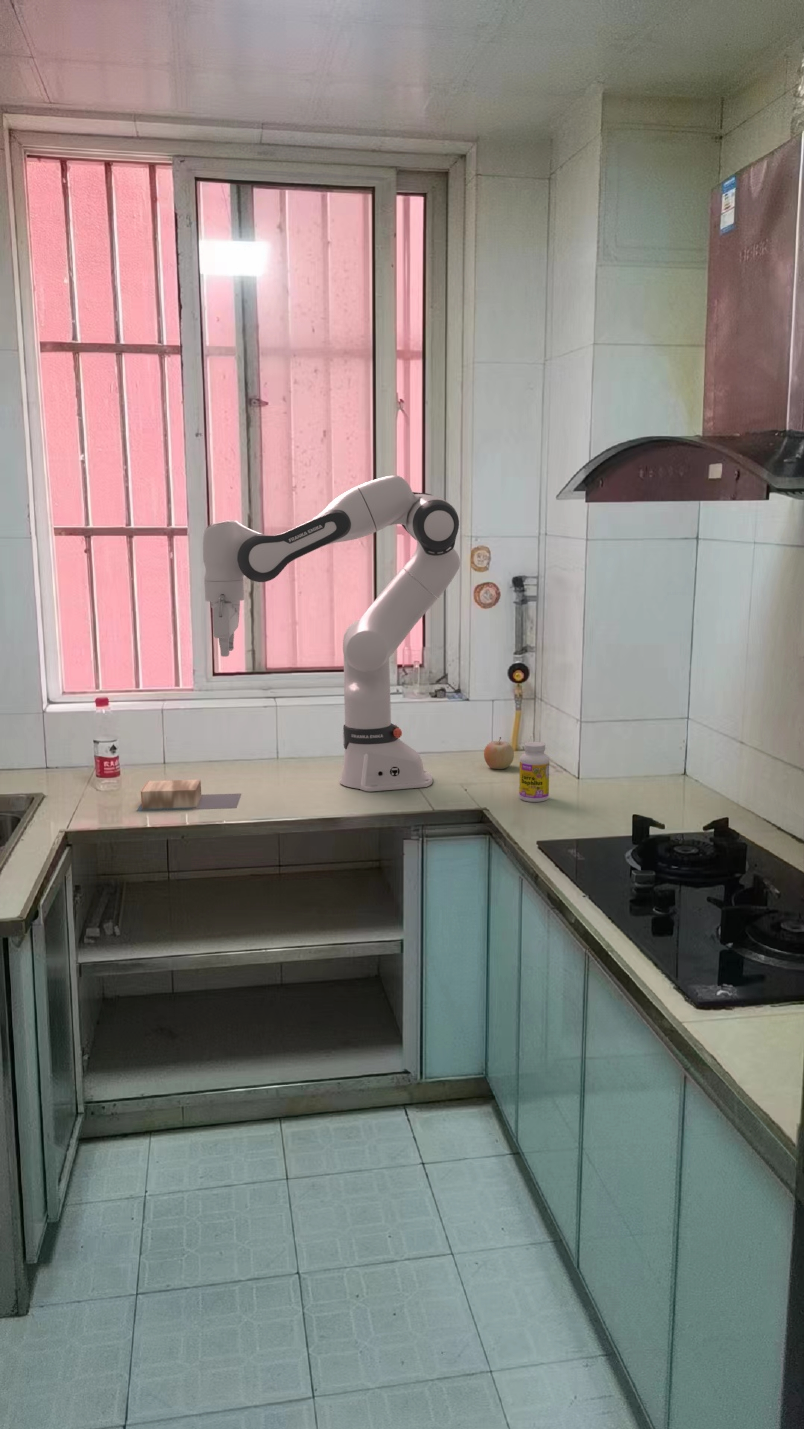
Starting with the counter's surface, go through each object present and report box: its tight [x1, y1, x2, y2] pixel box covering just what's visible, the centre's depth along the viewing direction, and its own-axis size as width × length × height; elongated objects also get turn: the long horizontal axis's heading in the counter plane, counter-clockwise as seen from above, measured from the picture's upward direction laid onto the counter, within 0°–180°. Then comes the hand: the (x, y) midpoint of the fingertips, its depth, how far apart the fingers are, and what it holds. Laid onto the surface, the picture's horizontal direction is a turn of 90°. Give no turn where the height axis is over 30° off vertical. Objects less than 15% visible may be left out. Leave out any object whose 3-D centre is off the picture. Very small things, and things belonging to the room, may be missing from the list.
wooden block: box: [140, 779, 202, 809], centre depth 241 cm, size 4×9×12 cm
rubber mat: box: [136, 793, 243, 812], centre depth 242 cm, size 22×12×1 cm, turn 93°
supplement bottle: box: [518, 741, 550, 803], centre depth 241 cm, size 7×7×13 cm
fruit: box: [483, 736, 515, 770], centre depth 270 cm, size 8×7×8 cm
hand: (227, 653), depth 245 cm, fingers open, 8 cm apart
